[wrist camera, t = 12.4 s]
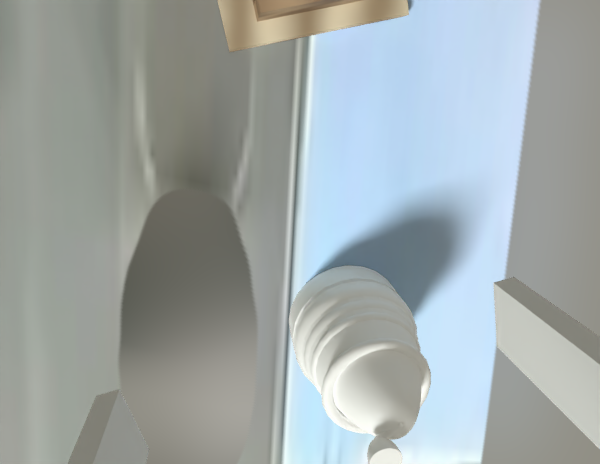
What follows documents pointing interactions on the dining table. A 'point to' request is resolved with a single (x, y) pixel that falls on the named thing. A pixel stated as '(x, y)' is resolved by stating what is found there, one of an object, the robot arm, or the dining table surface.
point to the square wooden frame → (298, 18)
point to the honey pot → (361, 355)
